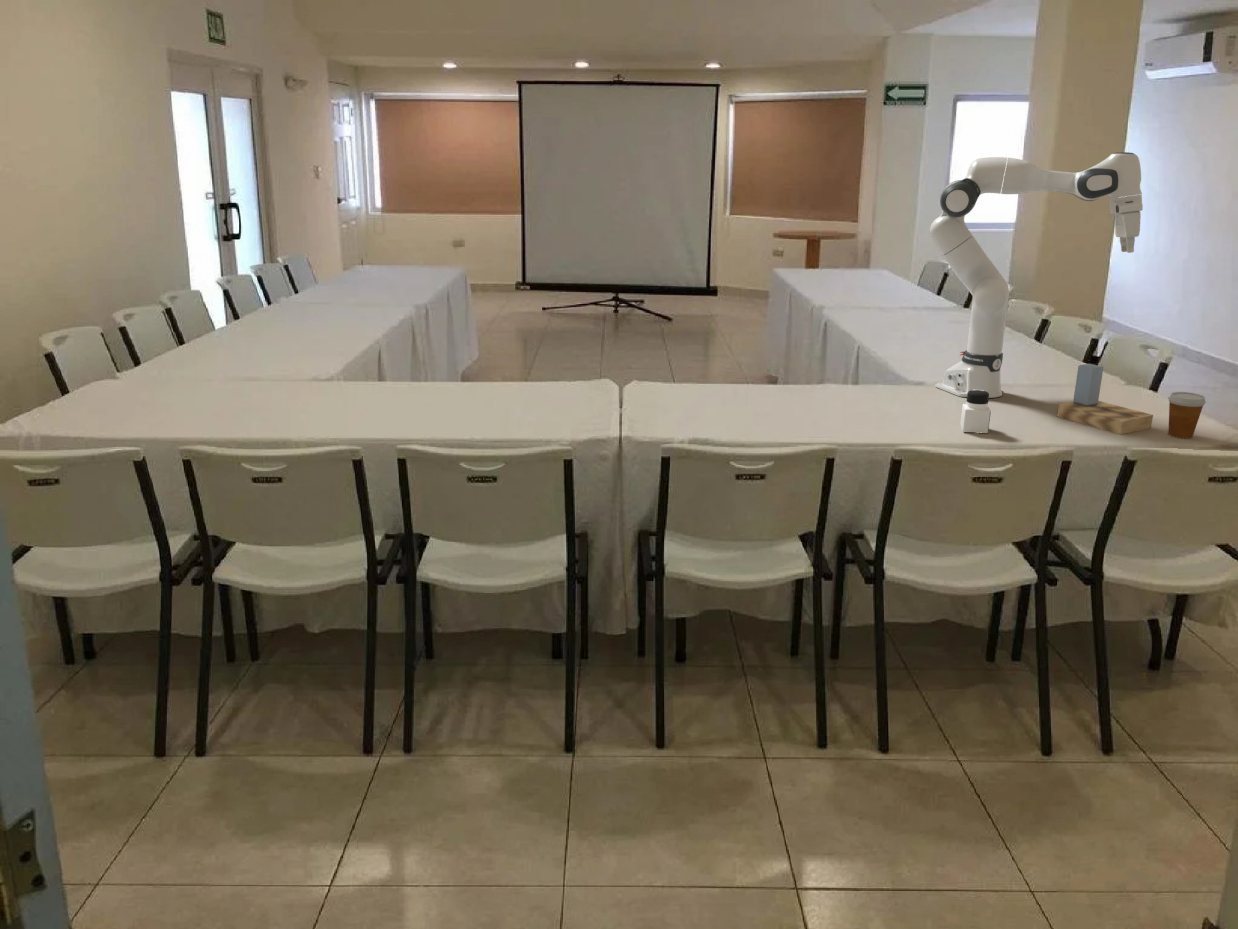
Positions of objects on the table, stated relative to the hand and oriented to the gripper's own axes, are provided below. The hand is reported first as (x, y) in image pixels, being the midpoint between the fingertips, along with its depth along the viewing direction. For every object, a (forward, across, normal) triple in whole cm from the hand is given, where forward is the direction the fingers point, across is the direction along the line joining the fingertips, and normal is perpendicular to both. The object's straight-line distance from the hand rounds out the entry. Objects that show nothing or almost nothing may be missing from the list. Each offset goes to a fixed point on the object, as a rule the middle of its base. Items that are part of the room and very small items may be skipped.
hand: (1127, 252), depth 312 cm
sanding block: (+44, +13, -16) cm, 48 cm away
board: (+49, +18, -11) cm, 53 cm away
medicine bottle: (+45, +38, -49) cm, 77 cm away
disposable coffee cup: (+53, +26, +8) cm, 60 cm away
